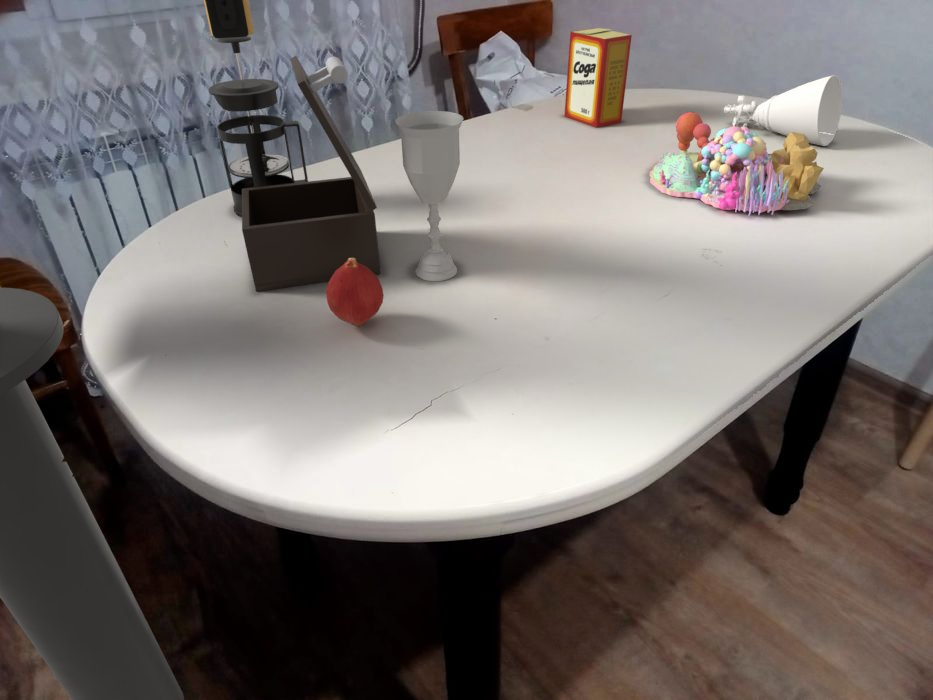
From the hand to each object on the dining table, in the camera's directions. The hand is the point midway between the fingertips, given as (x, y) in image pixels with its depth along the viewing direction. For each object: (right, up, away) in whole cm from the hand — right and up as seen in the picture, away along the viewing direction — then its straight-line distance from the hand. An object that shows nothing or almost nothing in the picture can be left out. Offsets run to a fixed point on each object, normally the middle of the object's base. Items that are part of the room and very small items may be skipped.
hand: (231, 30), depth 63 cm
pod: (0, 0, 0) cm, 0 cm away
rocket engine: (+81, +10, +59) cm, 101 cm away
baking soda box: (+48, +15, +68) cm, 85 cm away
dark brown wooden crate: (+3, -19, +20) cm, 28 cm away
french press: (-6, -10, +34) cm, 36 cm away
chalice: (+19, -21, +17) cm, 33 cm away
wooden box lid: (+7, -6, +12) cm, 15 cm away
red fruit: (+11, -28, +7) cm, 31 cm away
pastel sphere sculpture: (+63, -5, +38) cm, 74 cm away
